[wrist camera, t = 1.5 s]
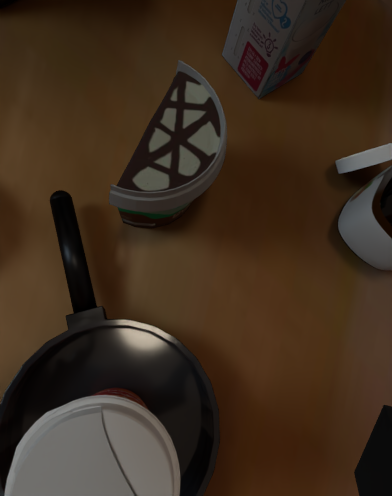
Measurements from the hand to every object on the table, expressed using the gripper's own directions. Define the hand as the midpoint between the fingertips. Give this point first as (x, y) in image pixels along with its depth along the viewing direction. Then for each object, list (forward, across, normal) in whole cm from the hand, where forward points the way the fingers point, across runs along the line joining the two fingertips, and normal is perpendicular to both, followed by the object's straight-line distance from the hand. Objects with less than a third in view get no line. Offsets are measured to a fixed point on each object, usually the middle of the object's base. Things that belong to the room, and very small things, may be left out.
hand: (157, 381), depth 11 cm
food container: (+24, -6, 0) cm, 25 cm away
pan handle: (+18, -12, -6) cm, 22 cm away
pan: (+12, -6, -16) cm, 21 cm away
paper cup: (+11, -6, -16) cm, 20 cm away
